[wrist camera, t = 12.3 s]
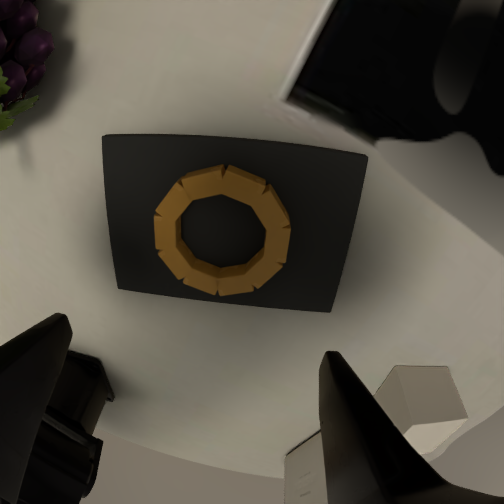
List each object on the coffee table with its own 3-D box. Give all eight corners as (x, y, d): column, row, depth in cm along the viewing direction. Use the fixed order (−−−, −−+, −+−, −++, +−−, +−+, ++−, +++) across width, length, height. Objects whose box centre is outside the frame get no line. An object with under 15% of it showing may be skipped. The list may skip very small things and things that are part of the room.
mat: (365, 154, 15) (369, 157, 15) (329, 307, 20) (330, 313, 20) (106, 134, 15) (101, 136, 15) (121, 284, 20) (117, 289, 20)
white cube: (447, 366, 23) (468, 418, 18) (416, 404, 26) (430, 452, 21) (394, 365, 23) (413, 425, 18) (366, 405, 26) (376, 459, 21)
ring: (296, 171, 15) (298, 178, 14) (278, 290, 19) (278, 302, 18) (159, 160, 15) (151, 165, 14) (163, 277, 19) (158, 288, 18)
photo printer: (331, 419, 27) (340, 533, 16) (363, 425, 28) (377, 530, 17) (279, 455, 32) (276, 547, 21) (309, 460, 33) (311, 547, 22)
